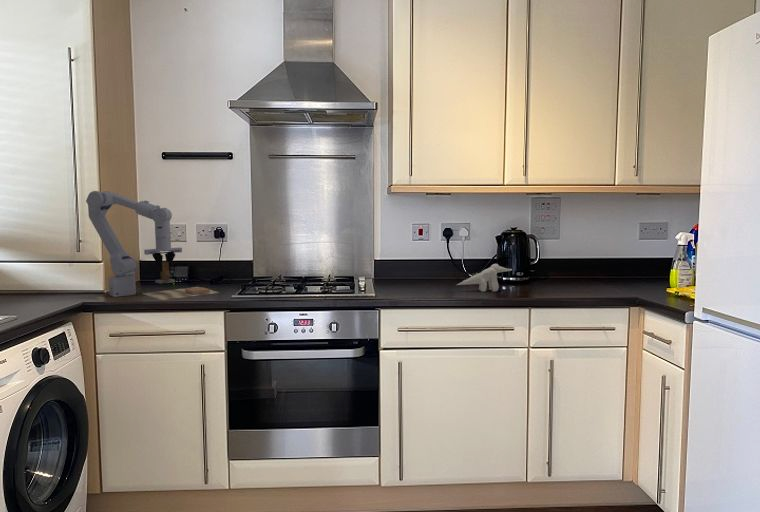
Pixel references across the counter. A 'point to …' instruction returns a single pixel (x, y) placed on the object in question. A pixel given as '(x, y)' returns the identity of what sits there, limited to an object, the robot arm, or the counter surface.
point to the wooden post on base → (165, 274)
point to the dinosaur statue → (486, 278)
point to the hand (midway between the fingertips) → (164, 271)
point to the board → (173, 294)
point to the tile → (197, 291)
